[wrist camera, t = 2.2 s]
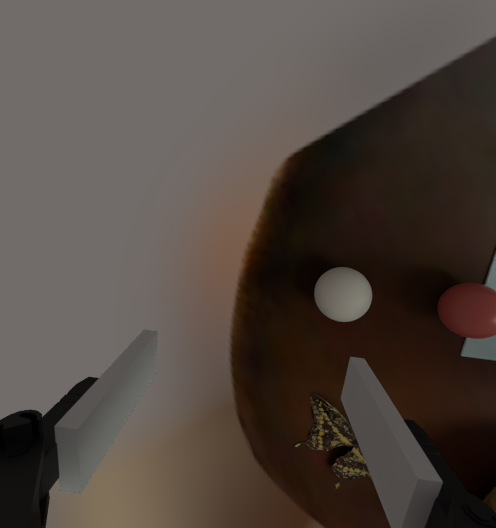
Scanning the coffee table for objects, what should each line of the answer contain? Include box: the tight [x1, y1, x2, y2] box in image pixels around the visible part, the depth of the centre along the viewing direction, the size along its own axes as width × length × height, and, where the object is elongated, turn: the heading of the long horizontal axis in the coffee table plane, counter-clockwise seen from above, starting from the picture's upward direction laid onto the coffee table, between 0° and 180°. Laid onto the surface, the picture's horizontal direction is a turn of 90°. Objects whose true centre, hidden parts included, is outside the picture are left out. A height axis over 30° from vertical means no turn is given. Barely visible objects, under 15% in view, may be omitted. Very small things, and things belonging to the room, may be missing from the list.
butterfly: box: [294, 394, 372, 489], centre depth 37 cm, size 18×4×10 cm
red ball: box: [437, 283, 496, 339], centre depth 29 cm, size 6×6×6 cm
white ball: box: [314, 267, 372, 322], centre depth 29 cm, size 6×6×6 cm
